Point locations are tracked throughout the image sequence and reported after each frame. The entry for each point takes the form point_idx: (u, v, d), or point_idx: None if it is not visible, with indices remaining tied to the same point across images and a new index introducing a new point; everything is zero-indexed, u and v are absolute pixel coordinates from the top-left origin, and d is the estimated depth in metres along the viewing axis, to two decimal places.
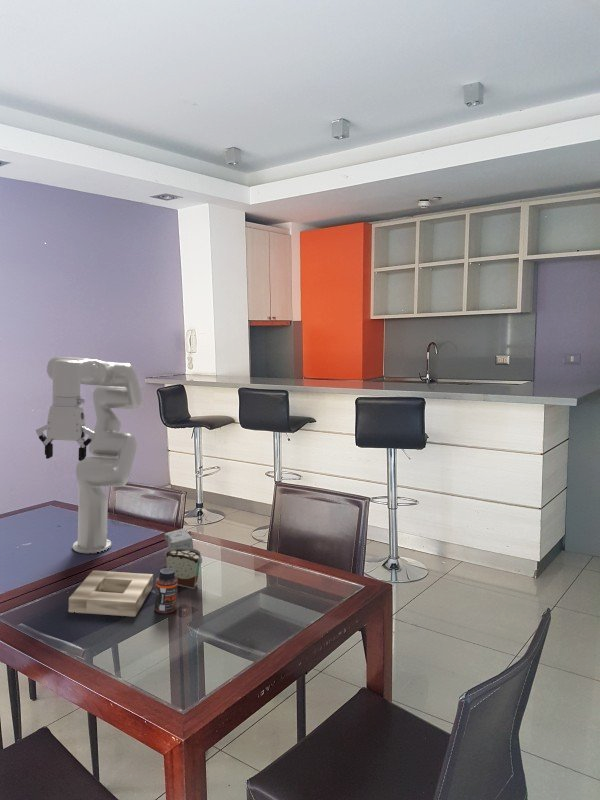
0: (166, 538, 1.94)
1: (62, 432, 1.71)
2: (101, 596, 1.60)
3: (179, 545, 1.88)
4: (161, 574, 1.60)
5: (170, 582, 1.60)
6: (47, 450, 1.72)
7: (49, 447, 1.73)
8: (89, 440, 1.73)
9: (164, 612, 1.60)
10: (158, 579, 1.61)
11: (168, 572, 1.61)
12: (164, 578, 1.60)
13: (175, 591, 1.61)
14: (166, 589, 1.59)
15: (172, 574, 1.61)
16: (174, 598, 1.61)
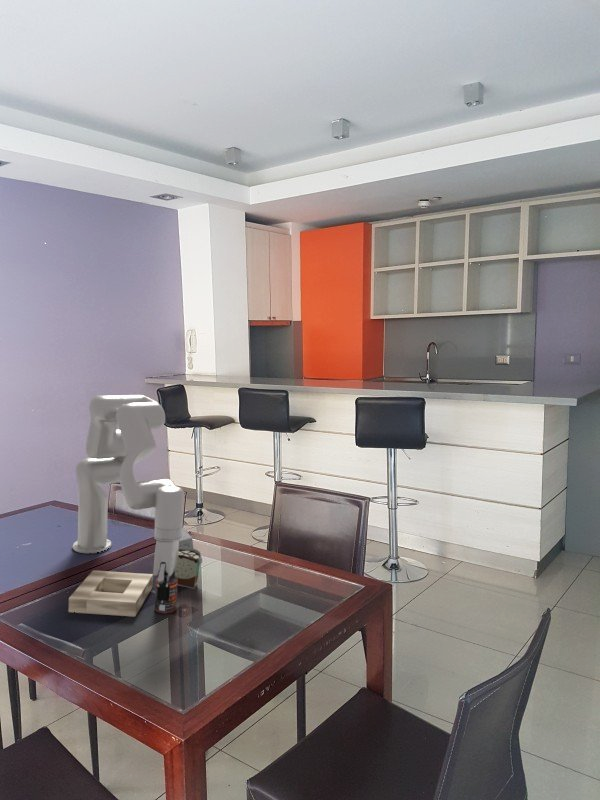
0: None
1: (175, 562, 1.61)
2: (101, 596, 1.60)
3: (179, 545, 1.88)
4: None
5: (170, 582, 1.60)
6: (169, 591, 1.59)
7: None
8: None
9: (164, 612, 1.60)
10: None
11: None
12: (164, 578, 1.60)
13: (175, 591, 1.61)
14: None
15: (172, 574, 1.61)
16: (174, 598, 1.61)
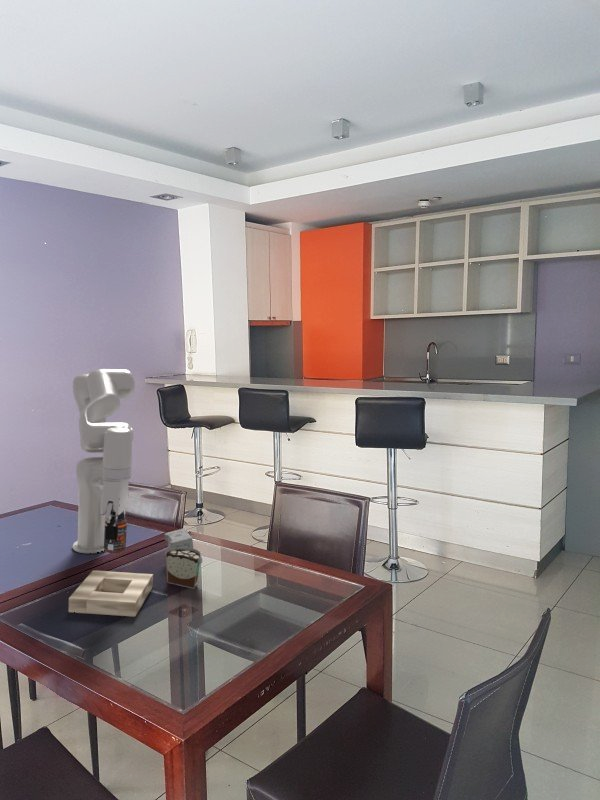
0: (166, 538, 1.94)
1: (124, 503, 1.63)
2: (101, 596, 1.60)
3: (179, 545, 1.88)
4: None
5: (119, 522, 1.62)
6: (117, 530, 1.61)
7: None
8: (125, 507, 1.70)
9: (113, 551, 1.62)
10: None
11: None
12: (112, 518, 1.62)
13: (124, 531, 1.63)
14: None
15: (121, 514, 1.63)
16: (123, 538, 1.63)
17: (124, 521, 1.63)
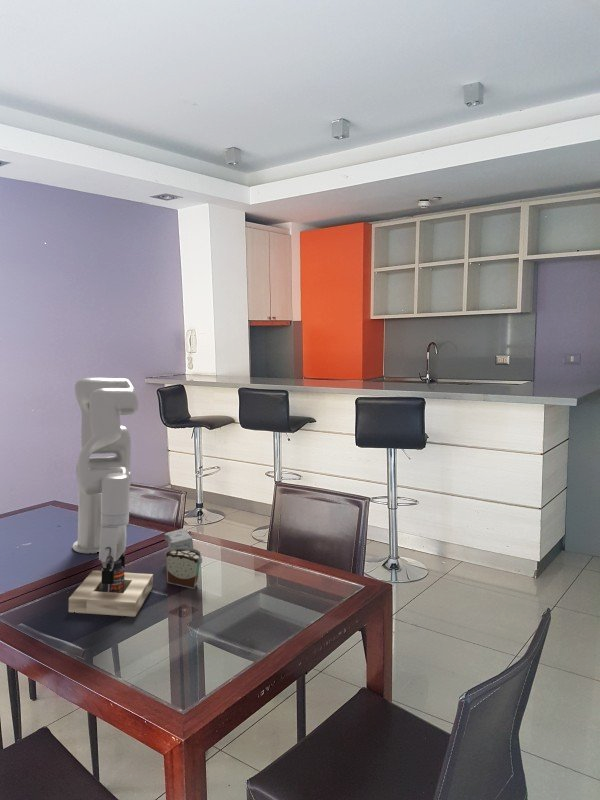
0: (166, 538, 1.94)
1: (122, 548, 1.65)
2: (101, 596, 1.60)
3: (179, 545, 1.88)
4: None
5: (116, 571, 1.64)
6: (113, 575, 1.61)
7: None
8: None
9: None
10: None
11: (115, 562, 1.65)
12: None
13: (122, 580, 1.65)
14: None
15: (118, 564, 1.65)
16: (121, 587, 1.65)
17: (122, 570, 1.65)
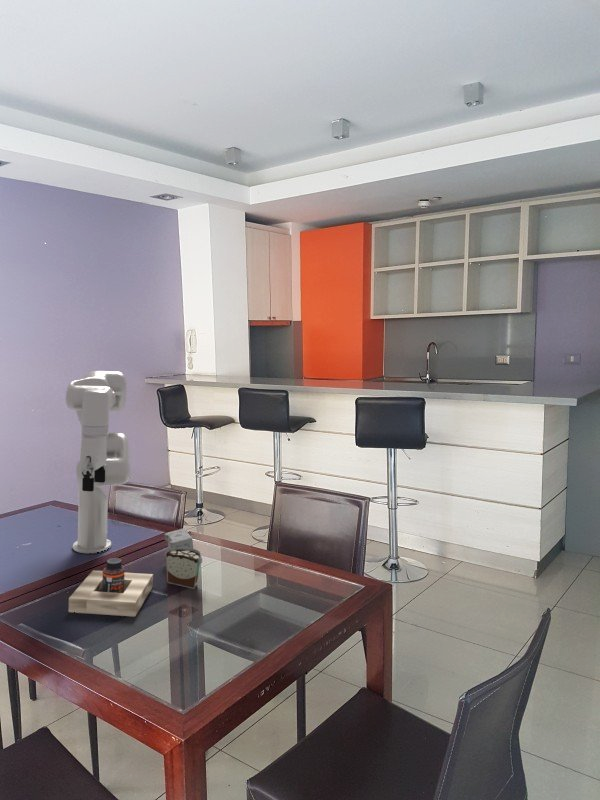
0: (166, 538, 1.94)
1: (102, 460, 1.76)
2: (101, 596, 1.60)
3: (179, 545, 1.88)
4: (108, 564, 1.64)
5: (116, 571, 1.64)
6: (93, 482, 1.72)
7: None
8: None
9: None
10: (105, 569, 1.65)
11: (115, 562, 1.65)
12: (110, 568, 1.64)
13: (122, 580, 1.65)
14: (112, 578, 1.63)
15: (118, 564, 1.65)
16: (121, 587, 1.65)
17: (122, 570, 1.65)
